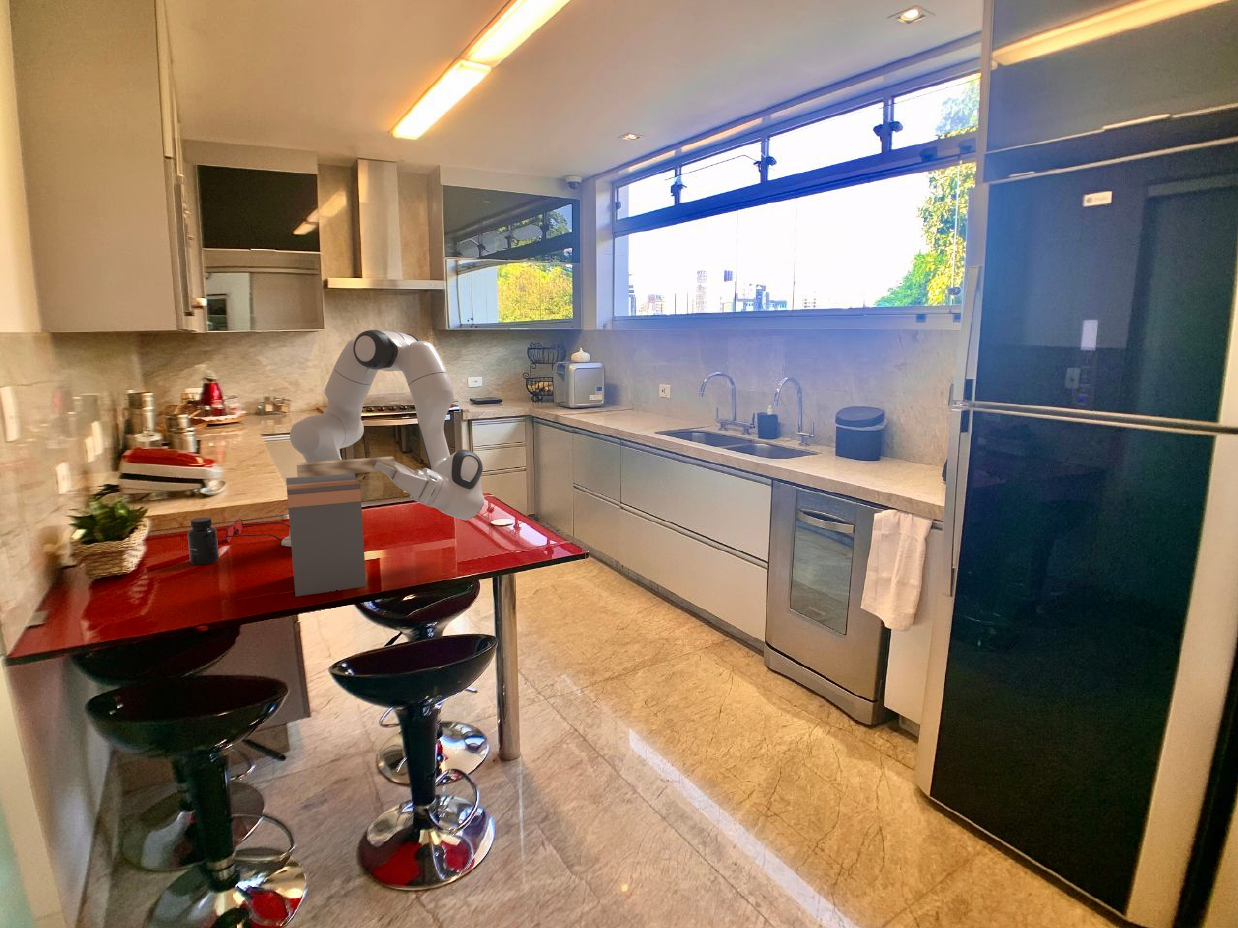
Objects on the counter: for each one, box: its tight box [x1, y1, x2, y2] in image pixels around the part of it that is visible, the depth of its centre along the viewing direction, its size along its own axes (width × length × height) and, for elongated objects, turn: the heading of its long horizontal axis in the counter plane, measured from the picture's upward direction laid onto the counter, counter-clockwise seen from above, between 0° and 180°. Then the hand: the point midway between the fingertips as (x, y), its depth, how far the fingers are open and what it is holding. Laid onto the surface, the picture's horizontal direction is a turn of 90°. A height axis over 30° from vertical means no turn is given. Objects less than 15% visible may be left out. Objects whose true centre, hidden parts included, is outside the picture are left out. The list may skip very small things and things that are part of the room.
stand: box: [285, 473, 367, 597], centre depth 170 cm, size 16×16×26 cm
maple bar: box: [295, 456, 395, 478], centre depth 165 cm, size 22×3×3 cm, turn 117°
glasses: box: [223, 518, 290, 544], centre depth 210 cm, size 14×16×5 cm
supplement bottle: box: [187, 516, 220, 566], centre depth 185 cm, size 7×7×12 cm
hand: (373, 462), depth 168 cm, fingers closed on maple bar, 3 cm apart
